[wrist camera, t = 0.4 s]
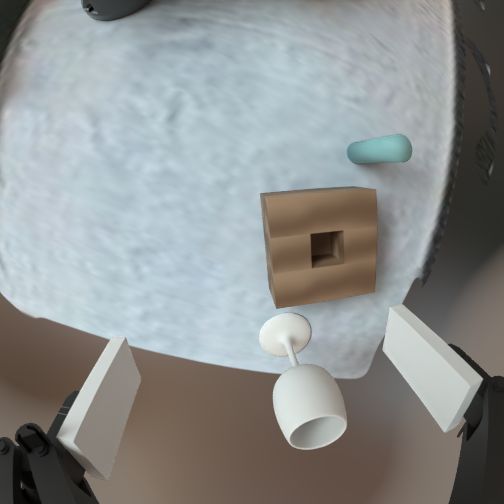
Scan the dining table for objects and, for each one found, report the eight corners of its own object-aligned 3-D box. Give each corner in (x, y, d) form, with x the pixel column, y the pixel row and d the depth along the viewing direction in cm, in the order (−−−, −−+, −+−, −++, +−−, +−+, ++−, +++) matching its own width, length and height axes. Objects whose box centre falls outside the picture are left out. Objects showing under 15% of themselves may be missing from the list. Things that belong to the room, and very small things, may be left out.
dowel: (346, 142, 37) (388, 133, 25) (364, 142, 37) (410, 135, 25) (348, 163, 37) (391, 161, 26) (366, 163, 38) (413, 162, 26)
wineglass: (279, 303, 42) (315, 399, 22) (320, 326, 44) (371, 416, 24) (248, 343, 44) (261, 446, 24) (289, 362, 46) (319, 458, 26)
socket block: (260, 193, 38) (266, 197, 31) (353, 186, 38) (376, 189, 32) (269, 287, 42) (276, 308, 35) (354, 275, 42) (374, 292, 36)
